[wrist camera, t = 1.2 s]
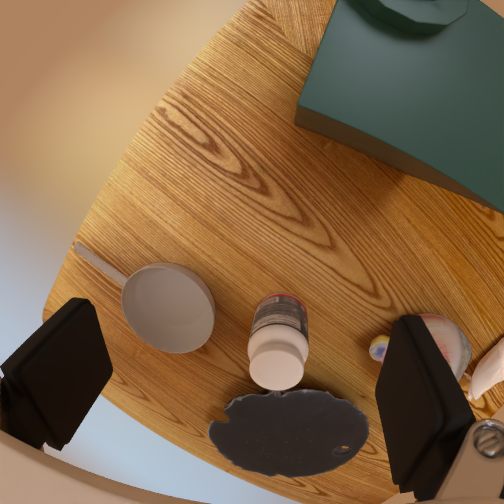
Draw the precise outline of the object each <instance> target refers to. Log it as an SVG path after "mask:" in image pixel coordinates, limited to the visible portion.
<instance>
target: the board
mask: <svg viewBox="0 0 504 504" xmlns="http://www.w3.org/2000/svg"><path fill="white" fill-rule="evenodd" d="M223 411H224V413H225V414H226V415H227V416H228V421H227V422H222V421H212V422H211V423H210V425H209V428H208V431H207V432H208V437H209V439H210V440H211V442H212V443H213V444H214V445H215V446H216V448H217V451H218V452H219V453H220V454H222V455H223V456H224V457H225V458H226V459H227V460H230V461H231V463H232V464H233V465H235V466H239V467H241V469H243V470H246V471H251V472H256V473H259V474H262V475H264V476H268V477H273V476H276V475H278V474H279V475H282V476H285V477H288V478H294V477H305V476H313V475H318V474H322V473H325V472H328V471H329V472H330V471H331V470H332V471H333V470H334V469H336V468H337V467H339V466H341V465H343V464H345V463H346V462H348V461H349V460H351V459H352V458H353V457H354V456H355V455H356V454H357V453H358V452H359V451H360V449H361V448H362V447H363V445H364V444H365V442H366V440H367V438H368V435H369V424H368V422H367V417H366V416H365V414H364V413H363V411H362V410H360V409H358V408H356V406H354V405H353V404H352V403H351V402H350V401H349V400H348V399H338V398H337V397H335V396H333V395H332V394H330V393H329V392H328V391H323V390H320V389H311V388H302V389H301V388H294V387H291V388H289V389H286V390H269V389H266V390H261V391H259V392H258V393H256V394H254V393H249V394H244V395H239V396H236V397H235V398H233V399H231V400H230V401H229V402H228V403H227V405H226V406H225V408H224V410H223ZM342 446H347V447H349V448H347V449H342V448H340V447H342Z"/></svg>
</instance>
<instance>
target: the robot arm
mask: <svg viewBox="0 0 504 504" xmlns="http://www.w3.org/2000/svg"><path fill="white" fill-rule="evenodd" d="M0 368H1V370H2V372H3V374H4V377H3V378H1V377H0V504H208V503H202V502H197V501H191V500H186V499H181V498H176V497H172V496H167V495H163V494H159V493H155V492H151V491H147V490H144V489H140V488H136V487H133V486H130V485H126V484H123V483H120V482H116V481H113V480H111V479H108V478H105V477H102V476H99V475H96V474H94V473H91V472H88V471H86V470H83V469H80V468H78V467H75V466H73V465H70V464H68V463H66V462H63V461H61V460H59V459H56V458H54V457H52V456H50V455H48V454H46V453H44V448H43V444H44V443H45V442H46V443H47V444H48V446H50V447H52V448H54V449H56V450H59V451H61V450H62V448H63V447H64V445H65V444H68V443H69V442H70V440H71V439H72V437H73V435H74V434H75V432H76V430H77V429H78V427H79V426H80V424H81V423H82V421H83V419H84V418H85V416H86V415H87V413H88V411H89V410H90V408H91V407H92V405H93V404H94V402H95V401H96V399H97V397H98V396H99V394H100V393H101V391H102V390H103V388H104V387H105V385H106V384H107V382H108V380H109V379H110V377H111V376H112V373H113V366H112V363H111V360H110V357H109V354H108V351H107V348H106V345H105V341H104V338H103V335H102V331H101V328H100V324H99V321H98V317H97V314H96V310H95V307H94V305H93V304H91V302H90V301H89V300H88V299H83V298H71V299H70V300H69V301H68V302H67V303H66V304H64V305H63V306H62V307H61V308H60V309H59V310H58V311H57V312H56V313H55V314H54V315H52V316H51V317H50V318H49V319H48V320H47V321H46V322H45V323H44V324H43V325H42V326H41V327H40V328H39V329H38V330H37V331H35V332H34V333H33V334H32V335H31V336H30V337H29V338H28V339H27V340H26V341H25V342H24V343H23V344H22V345H21V346H20V347H19V348H18V349H17V350H16V351H15V352H14V353H13V354H12V355H11V356H10V357H9V358H8V359H7V360H6V361H5V362H4V363H3V364H2V365H1V366H0ZM375 397H376V401H377V406H378V410H379V414H380V419H381V423H382V428H383V433H384V438H385V442H386V447H387V452H388V458H389V463H390V468H391V474H392V480H393V483H394V484H395V485H399V489H400V493H406V492H411V491H414V497H415V498H416V499H417V500H416V501H415V503H408V504H504V423H503V422H500V421H499V420H495V419H491V418H490V419H482V420H479V421H477V420H476V418H475V416H474V414H473V412H472V410H471V407H470V405H469V403H468V401H467V399H466V397H465V395H464V393H463V391H462V389H461V387H460V385H459V383H458V381H457V379H456V377H455V375H454V373H453V371H452V369H451V367H450V366H449V364H448V362H447V360H446V359H445V358H444V356H443V354H442V353H441V351H440V349H439V347H438V345H437V343H436V342H435V340H434V338H433V336H432V335H431V333H430V331H429V329H428V328H427V326H426V324H425V322H424V321H423V319H422V317H421V316H420V315H402V316H401V317H400V318H399V320H395V321H394V323H393V327H392V331H391V335H390V339H389V342H388V346H387V350H386V354H385V357H384V361H383V364H382V368H381V371H380V375H379V378H378V381H377V384H376V389H375Z"/></svg>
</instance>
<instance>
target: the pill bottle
mask: <svg viewBox="0 0 504 504" xmlns="http://www.w3.org/2000/svg"><path fill="white" fill-rule="evenodd" d="M308 353H309V342H308V321H307V312H306V308H305V306H304V304H303V303H302V302H301V301H300V300H299V299H298V298H296V297H295V296H293V295H290V294H287V293H275V294H271V295H269V296H267V297H265V298H264V299H263V300H262V301H261V302H260V303H259V304H258V306H257V308H256V312H255V316H254V320H253V325H252V330H251V334H250V339H249V342H248V356H249V359H250V367H249V371H250V375H251V377H252V379H253V380H254V381H255V382H256V383H257V384H258V385H260V386H261V387H263V388H266V389H269V390H286V389H289V388H291V387H293V386H295V385H296V384H298V383H299V382H300V380H301V379H302V377H303V374H304V363H305V362H306V360H307V357H308Z"/></svg>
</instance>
